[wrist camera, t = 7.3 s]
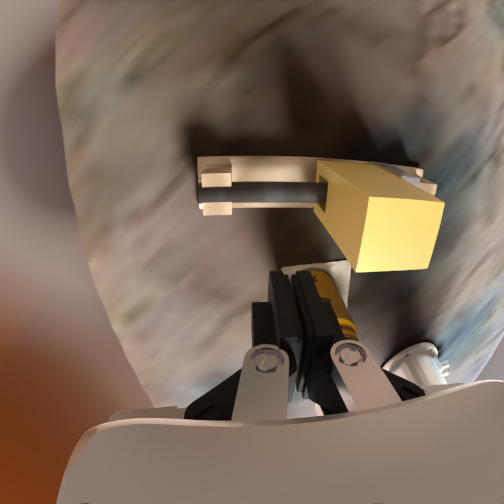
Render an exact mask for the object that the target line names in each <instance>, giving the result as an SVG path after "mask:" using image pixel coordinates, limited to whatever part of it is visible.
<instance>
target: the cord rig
mask: <svg viewBox="0 0 504 504" xmlns="http://www.w3.org/2000/svg"><path fill="white" fill-rule="evenodd" d="M317 160H321V161H336V162H349V163H361V164H371V162H367V161H357V160H345V159H332V158H316V157H295V156H207V157H198V158H197V165H198V199H199V206H200V209H202V208H203V215H232V208H262V207H286V208H314V203H326V201H327V191H328V183H317V182H316V172H317ZM391 165H393V164H391ZM393 166H395V167H397V168H400V169H402V170H404V171H406V172H408V173H410V174H412V175H414V176H416V177H418V178H420V183H419V188H420V189H422V190H424V191H426V192H428V193H429V194H431V195H433V196H435V197H436V198H438V197H437V194H436V188H437V185H436V184H434V183H432V182H430V181H428V180H426V179H424V178H422V177H423V171H424V170H423V169H420V168H415V167H408V166H401V165H393Z"/></svg>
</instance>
